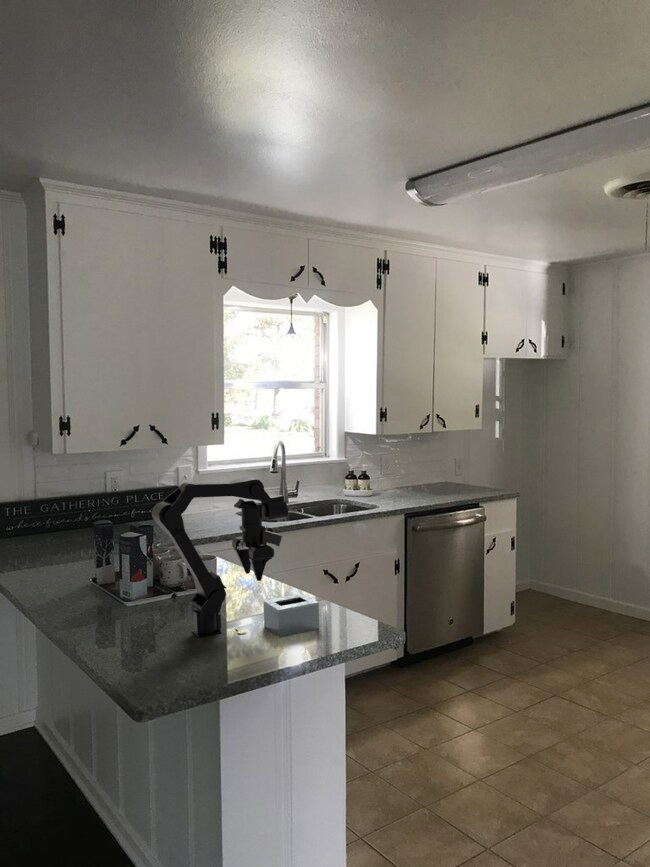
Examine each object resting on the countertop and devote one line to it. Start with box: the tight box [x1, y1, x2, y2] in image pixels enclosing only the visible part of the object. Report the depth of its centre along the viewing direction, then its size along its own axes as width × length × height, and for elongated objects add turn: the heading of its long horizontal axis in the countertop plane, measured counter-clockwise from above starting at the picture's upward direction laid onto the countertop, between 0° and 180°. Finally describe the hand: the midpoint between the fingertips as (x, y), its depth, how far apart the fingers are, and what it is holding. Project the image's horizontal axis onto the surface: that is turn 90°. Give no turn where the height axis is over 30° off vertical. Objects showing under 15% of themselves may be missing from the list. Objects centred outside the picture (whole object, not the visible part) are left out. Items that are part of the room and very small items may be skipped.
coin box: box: [263, 593, 320, 638], centre depth 202 cm, size 12×10×7 cm
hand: (253, 577), depth 208 cm, fingers open, 9 cm apart
